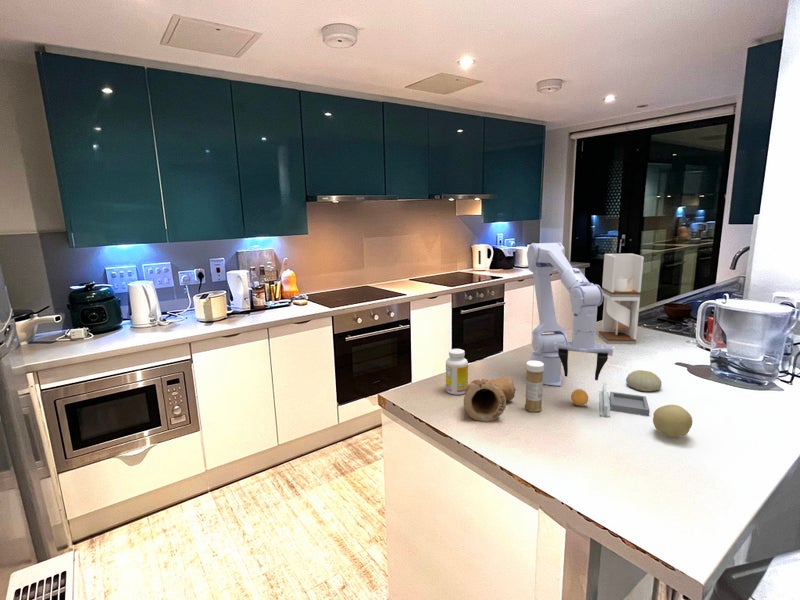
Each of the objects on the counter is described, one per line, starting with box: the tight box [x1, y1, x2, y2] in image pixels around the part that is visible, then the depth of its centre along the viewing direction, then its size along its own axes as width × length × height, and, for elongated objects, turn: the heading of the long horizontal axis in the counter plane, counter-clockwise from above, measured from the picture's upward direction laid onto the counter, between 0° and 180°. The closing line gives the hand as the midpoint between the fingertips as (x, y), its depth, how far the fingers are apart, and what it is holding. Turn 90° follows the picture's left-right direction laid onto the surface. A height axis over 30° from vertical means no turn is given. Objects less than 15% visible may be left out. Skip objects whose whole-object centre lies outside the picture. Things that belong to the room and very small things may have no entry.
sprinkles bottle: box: [524, 360, 544, 413], centre depth 116 cm, size 5×5×14 cm
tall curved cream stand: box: [598, 253, 645, 345], centre depth 172 cm, size 11×11×35 cm
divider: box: [598, 382, 611, 418], centre depth 119 cm, size 2×16×3 cm, turn 156°
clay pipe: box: [463, 376, 517, 423], centre depth 117 cm, size 19×11×15 cm
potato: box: [652, 404, 693, 439], centre depth 101 cm, size 8×8×8 cm
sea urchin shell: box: [625, 369, 663, 392], centre depth 129 cm, size 9×8×8 cm
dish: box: [609, 391, 651, 417], centre depth 117 cm, size 9×9×2 cm
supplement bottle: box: [445, 348, 469, 396], centre depth 129 cm, size 7×7×13 cm
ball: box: [570, 388, 589, 407], centre depth 118 cm, size 4×4×4 cm
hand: (581, 377), depth 117 cm, fingers open, 7 cm apart
